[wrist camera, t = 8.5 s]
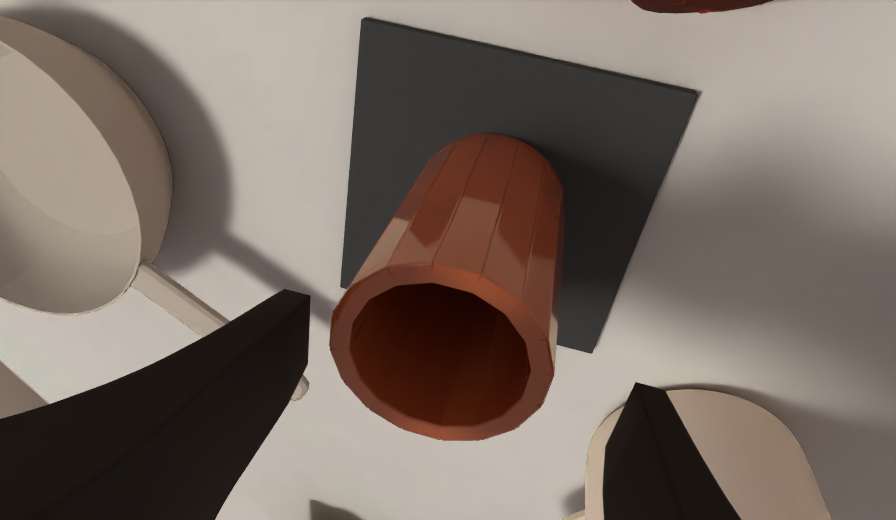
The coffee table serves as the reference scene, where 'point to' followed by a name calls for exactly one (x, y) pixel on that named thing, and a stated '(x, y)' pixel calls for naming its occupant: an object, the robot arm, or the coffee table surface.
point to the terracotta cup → (460, 295)
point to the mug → (729, 458)
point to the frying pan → (82, 186)
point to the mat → (524, 118)
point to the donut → (695, 5)
